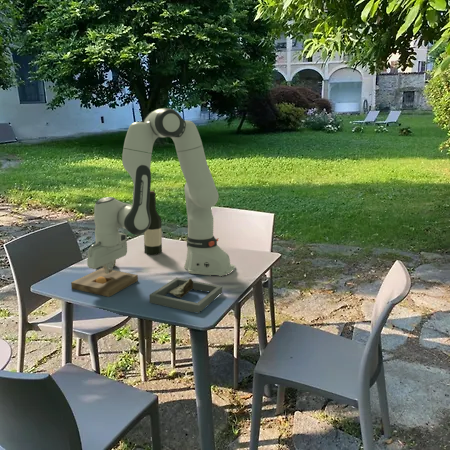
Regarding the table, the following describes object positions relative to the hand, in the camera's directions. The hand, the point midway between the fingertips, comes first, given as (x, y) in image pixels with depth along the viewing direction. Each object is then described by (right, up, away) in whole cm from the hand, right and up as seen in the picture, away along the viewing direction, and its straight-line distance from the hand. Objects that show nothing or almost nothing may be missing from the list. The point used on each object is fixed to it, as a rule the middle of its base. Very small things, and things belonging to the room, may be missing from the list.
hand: (108, 272), depth 177 cm
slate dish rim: (+32, -8, -12) cm, 35 cm away
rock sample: (+29, -8, -10) cm, 32 cm away
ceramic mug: (-6, +1, +20) cm, 21 cm away
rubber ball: (-2, -3, -4) cm, 5 cm away
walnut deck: (-1, -5, -1) cm, 5 cm away
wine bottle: (+11, +5, +39) cm, 41 cm away
